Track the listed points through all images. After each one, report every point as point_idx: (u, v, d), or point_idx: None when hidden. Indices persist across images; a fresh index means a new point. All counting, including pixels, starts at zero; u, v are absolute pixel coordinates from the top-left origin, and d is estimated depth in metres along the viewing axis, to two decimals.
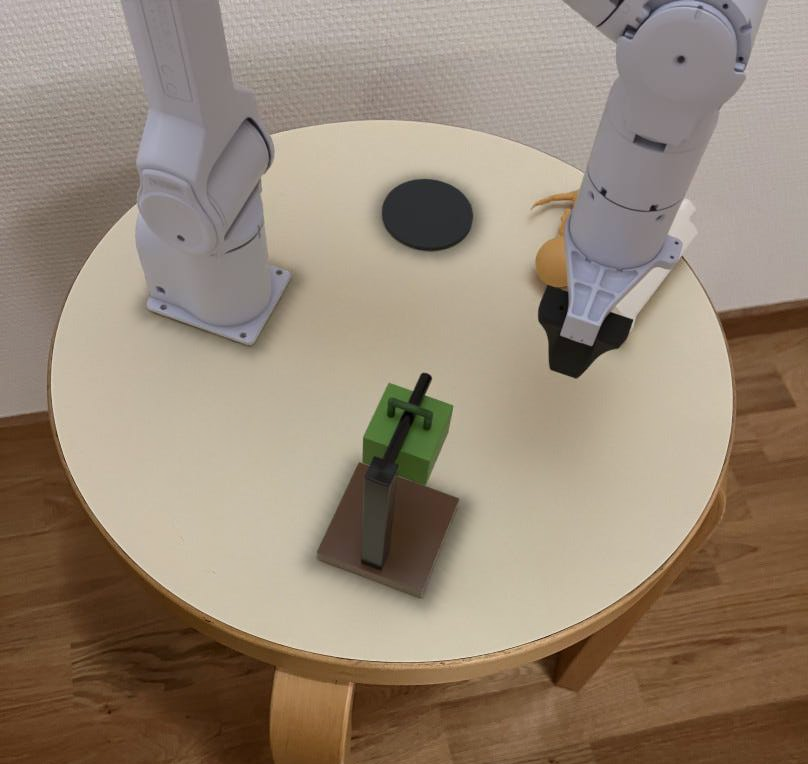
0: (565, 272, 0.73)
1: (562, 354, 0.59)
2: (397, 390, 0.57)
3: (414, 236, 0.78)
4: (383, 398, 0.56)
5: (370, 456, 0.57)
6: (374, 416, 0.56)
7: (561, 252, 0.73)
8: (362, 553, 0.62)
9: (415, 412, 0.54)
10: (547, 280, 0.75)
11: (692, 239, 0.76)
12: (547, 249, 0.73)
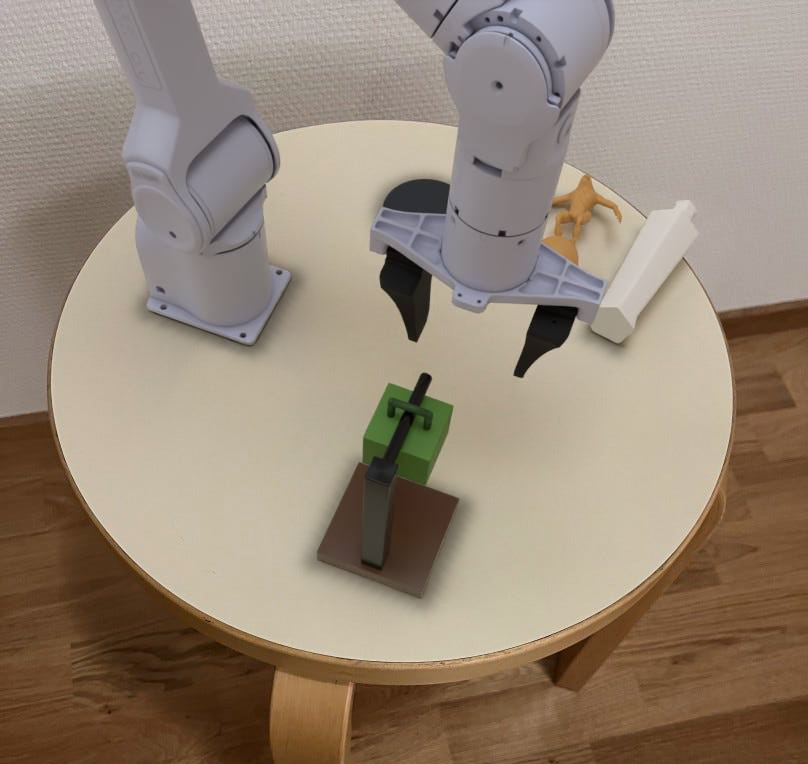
0: None
1: None
2: (397, 390, 0.57)
3: None
4: (383, 398, 0.56)
5: (370, 456, 0.57)
6: (374, 416, 0.56)
7: None
8: (362, 553, 0.62)
9: (415, 412, 0.54)
10: None
11: (693, 240, 0.76)
12: None
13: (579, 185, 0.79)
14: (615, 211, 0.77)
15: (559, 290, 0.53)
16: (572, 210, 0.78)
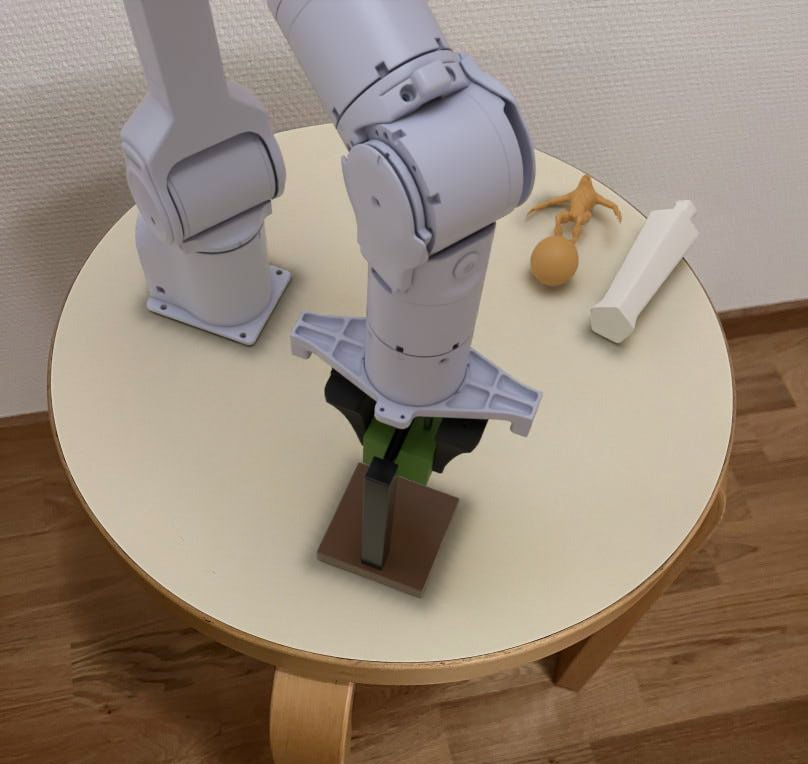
0: (558, 269, 0.73)
1: None
2: None
3: None
4: None
5: (370, 456, 0.57)
6: (374, 416, 0.56)
7: (551, 250, 0.73)
8: (362, 553, 0.62)
9: None
10: (543, 279, 0.75)
11: (693, 240, 0.76)
12: (538, 249, 0.74)
13: (579, 185, 0.79)
14: (615, 211, 0.77)
15: (490, 403, 0.50)
16: (572, 210, 0.78)
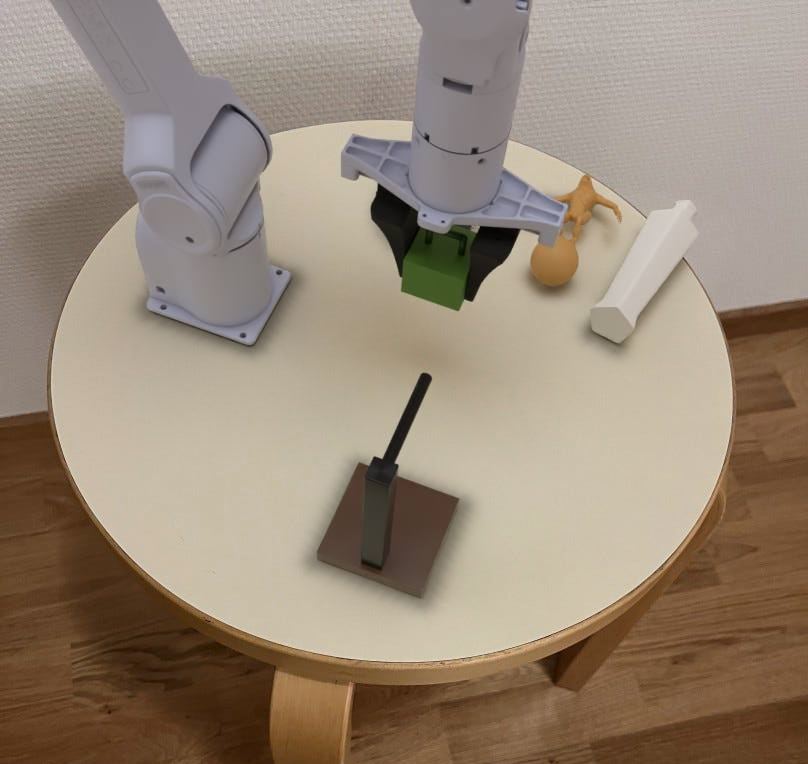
0: (558, 269, 0.73)
1: None
2: None
3: None
4: (421, 228, 0.62)
5: (408, 282, 0.63)
6: (413, 243, 0.61)
7: (551, 250, 0.73)
8: (362, 553, 0.62)
9: (451, 235, 0.60)
10: (543, 279, 0.75)
11: (693, 240, 0.76)
12: (538, 249, 0.74)
13: (579, 185, 0.79)
14: (615, 211, 0.77)
15: (520, 213, 0.55)
16: (572, 210, 0.78)
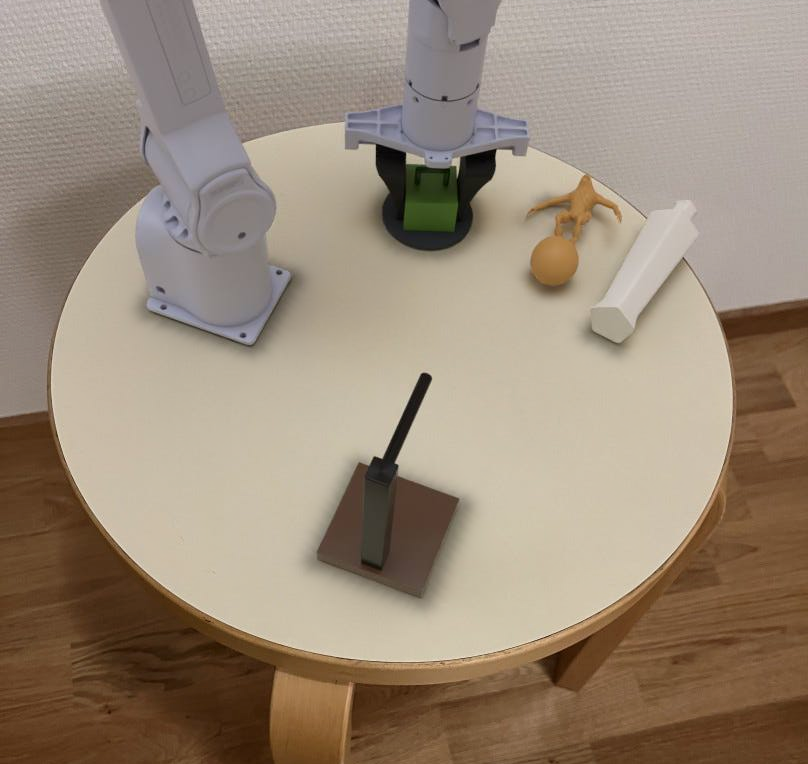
0: (558, 269, 0.73)
1: None
2: (413, 166, 0.77)
3: (414, 236, 0.78)
4: (407, 174, 0.76)
5: (410, 220, 0.77)
6: (406, 187, 0.76)
7: (551, 250, 0.73)
8: (362, 553, 0.62)
9: (438, 171, 0.74)
10: (543, 279, 0.75)
11: (693, 240, 0.76)
12: (538, 249, 0.74)
13: (579, 185, 0.79)
14: (615, 211, 0.77)
15: (497, 135, 0.71)
16: (572, 210, 0.78)
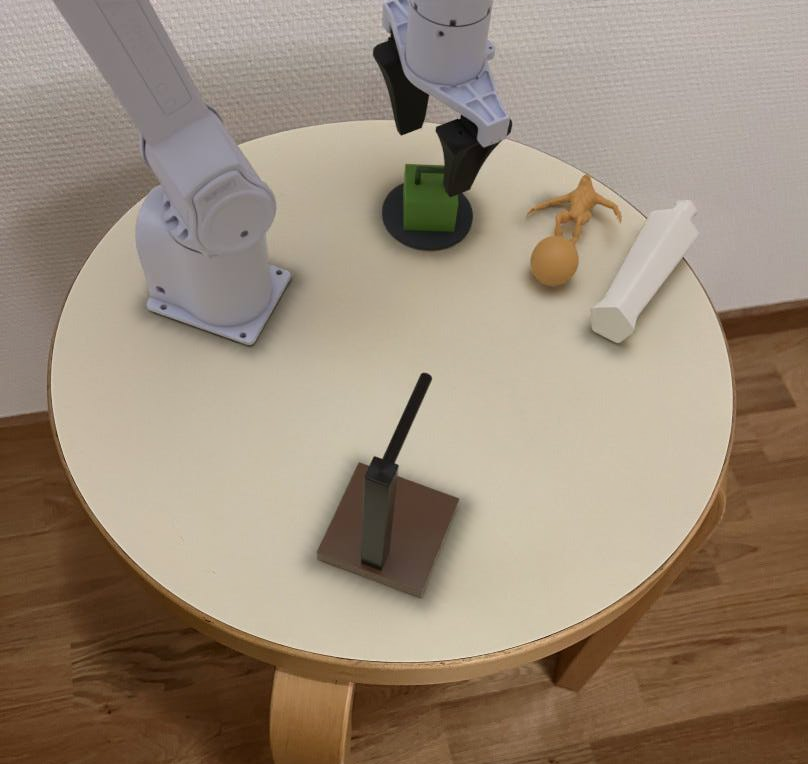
0: (558, 269, 0.73)
1: (459, 175, 0.70)
2: (413, 166, 0.77)
3: (414, 236, 0.78)
4: (407, 174, 0.76)
5: (410, 220, 0.77)
6: (406, 187, 0.76)
7: (551, 250, 0.73)
8: (362, 553, 0.62)
9: (438, 171, 0.74)
10: (543, 279, 0.75)
11: (693, 240, 0.76)
12: (538, 249, 0.74)
13: (579, 185, 0.79)
14: (615, 211, 0.77)
15: None
16: (572, 210, 0.78)
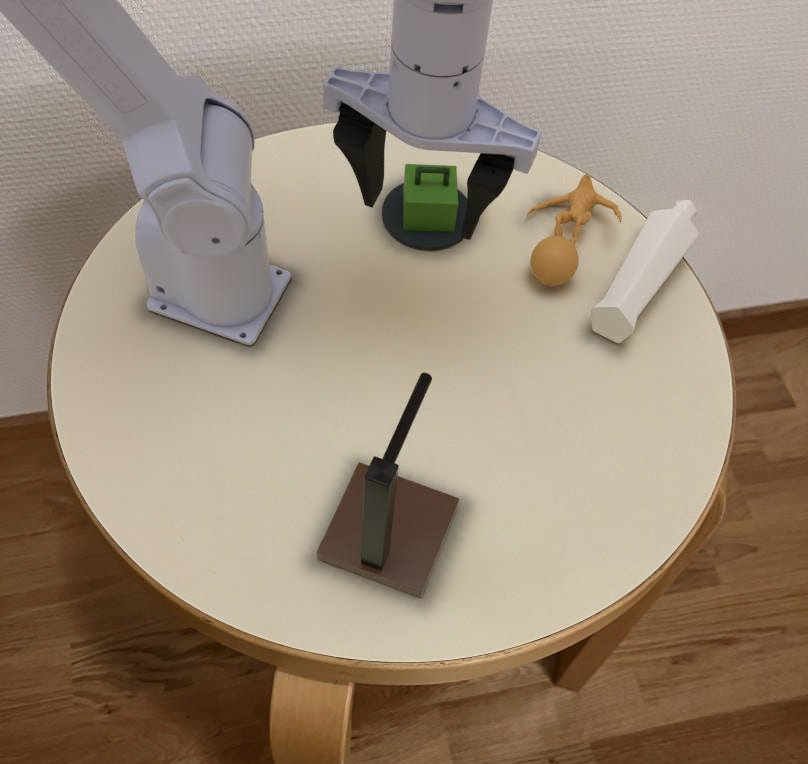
0: (558, 269, 0.73)
1: None
2: (413, 166, 0.77)
3: (414, 236, 0.78)
4: (407, 174, 0.76)
5: (410, 220, 0.77)
6: (406, 187, 0.76)
7: (551, 250, 0.73)
8: (362, 553, 0.62)
9: (438, 171, 0.74)
10: (543, 279, 0.75)
11: (693, 240, 0.76)
12: (538, 249, 0.74)
13: (579, 185, 0.79)
14: (615, 211, 0.77)
15: (369, 79, 0.59)
16: (572, 210, 0.78)
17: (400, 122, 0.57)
